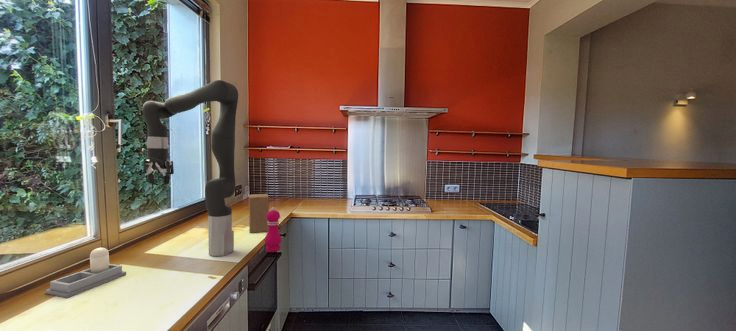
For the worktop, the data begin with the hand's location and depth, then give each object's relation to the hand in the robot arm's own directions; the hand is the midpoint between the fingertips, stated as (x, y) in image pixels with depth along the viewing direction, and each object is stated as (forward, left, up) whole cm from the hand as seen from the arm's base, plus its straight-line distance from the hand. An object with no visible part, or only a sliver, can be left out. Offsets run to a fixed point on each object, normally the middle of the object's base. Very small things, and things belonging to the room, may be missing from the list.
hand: (158, 183), depth 125 cm
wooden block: (-23, -40, -30) cm, 55 cm away
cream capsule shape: (-7, +27, -29) cm, 41 cm away
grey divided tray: (-7, +31, -30) cm, 44 cm away
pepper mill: (-48, -15, -30) cm, 59 cm away
